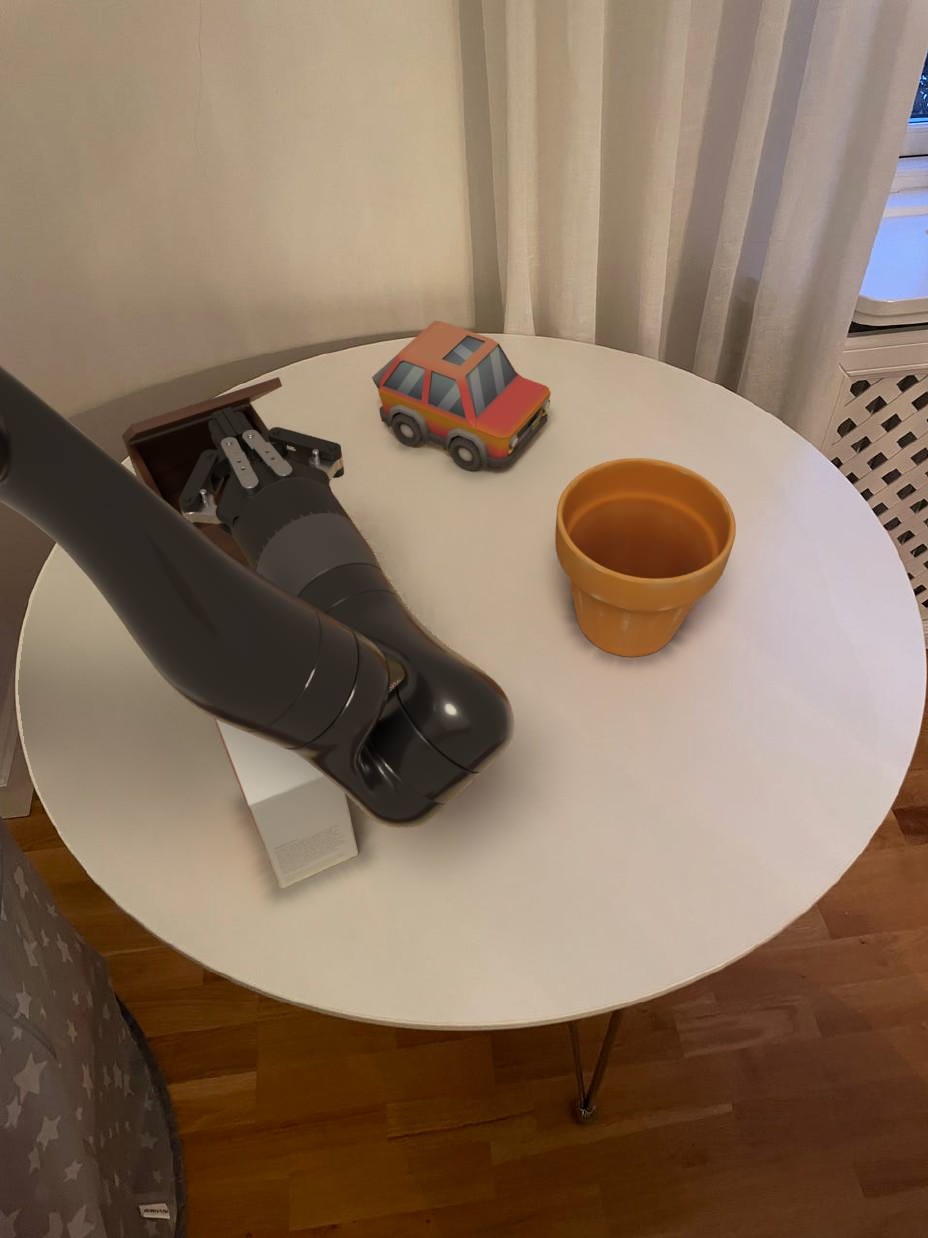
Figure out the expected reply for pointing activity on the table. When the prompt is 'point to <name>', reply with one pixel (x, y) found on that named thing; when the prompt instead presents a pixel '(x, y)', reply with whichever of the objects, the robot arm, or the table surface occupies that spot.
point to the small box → (290, 807)
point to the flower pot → (640, 549)
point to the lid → (199, 410)
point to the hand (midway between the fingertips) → (222, 419)
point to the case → (185, 465)
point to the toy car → (460, 397)
